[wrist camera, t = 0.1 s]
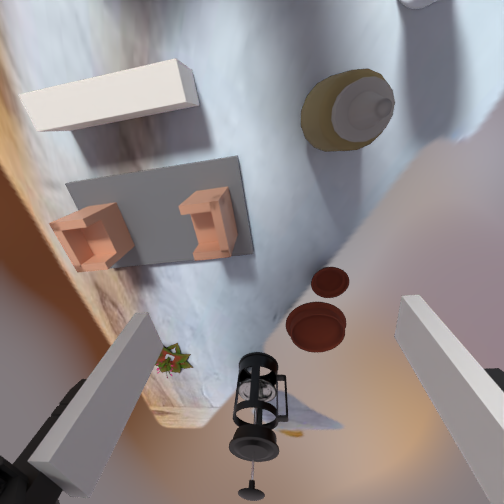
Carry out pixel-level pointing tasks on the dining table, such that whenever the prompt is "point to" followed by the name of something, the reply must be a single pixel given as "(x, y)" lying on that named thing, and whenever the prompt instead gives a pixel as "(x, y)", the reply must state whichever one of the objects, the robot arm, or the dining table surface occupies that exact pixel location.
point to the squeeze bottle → (347, 110)
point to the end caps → (157, 216)
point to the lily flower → (176, 363)
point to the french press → (256, 415)
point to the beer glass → (416, 3)
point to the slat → (112, 97)
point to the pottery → (320, 314)
